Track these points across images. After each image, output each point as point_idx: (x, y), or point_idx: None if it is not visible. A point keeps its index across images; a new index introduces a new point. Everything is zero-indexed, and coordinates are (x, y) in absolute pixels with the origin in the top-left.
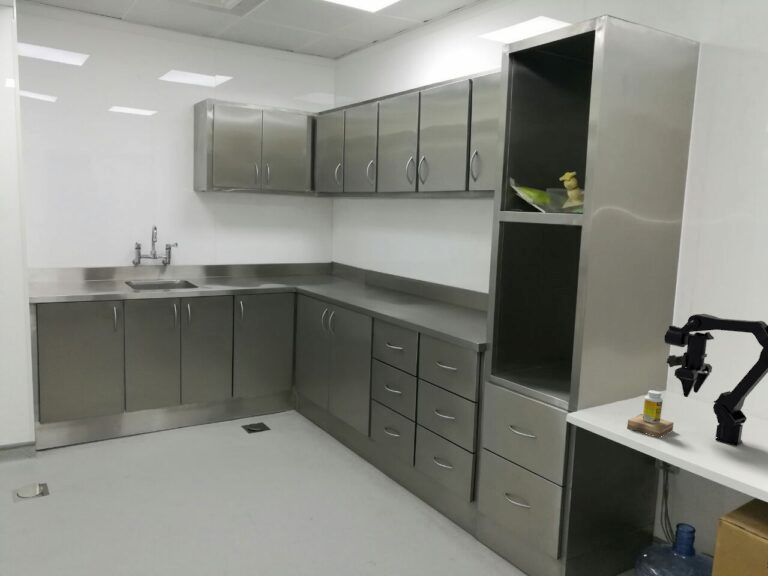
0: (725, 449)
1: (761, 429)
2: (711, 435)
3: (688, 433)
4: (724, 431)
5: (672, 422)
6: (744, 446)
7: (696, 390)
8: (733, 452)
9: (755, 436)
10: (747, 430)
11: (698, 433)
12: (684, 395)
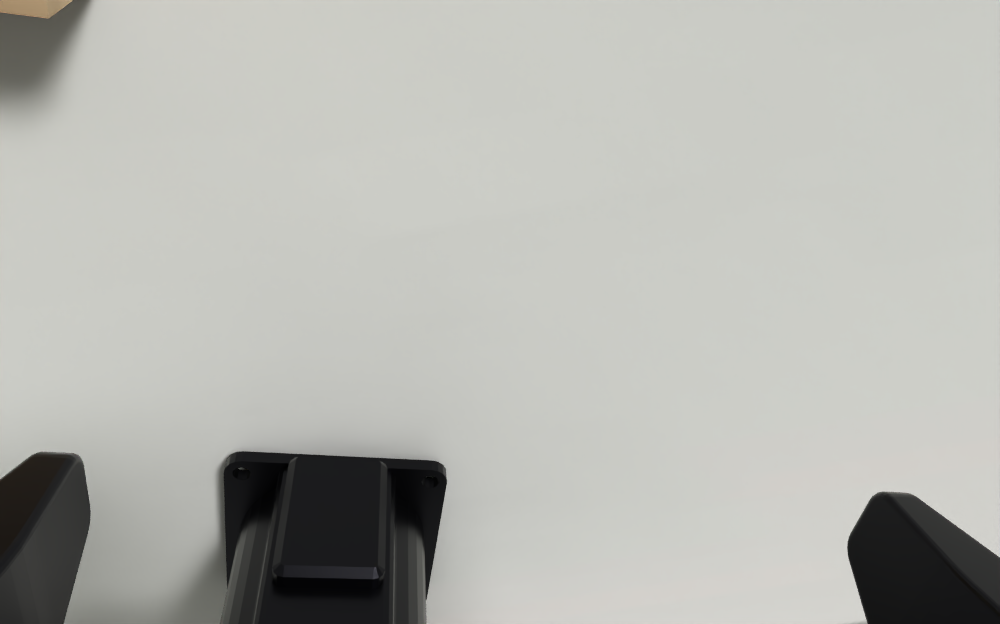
0: None
1: None
2: (399, 388)
3: (220, 187)
4: (226, 605)
5: (24, 3)
6: None
7: (877, 587)
8: None
9: (703, 616)
10: None
11: (344, 276)
12: (19, 484)
